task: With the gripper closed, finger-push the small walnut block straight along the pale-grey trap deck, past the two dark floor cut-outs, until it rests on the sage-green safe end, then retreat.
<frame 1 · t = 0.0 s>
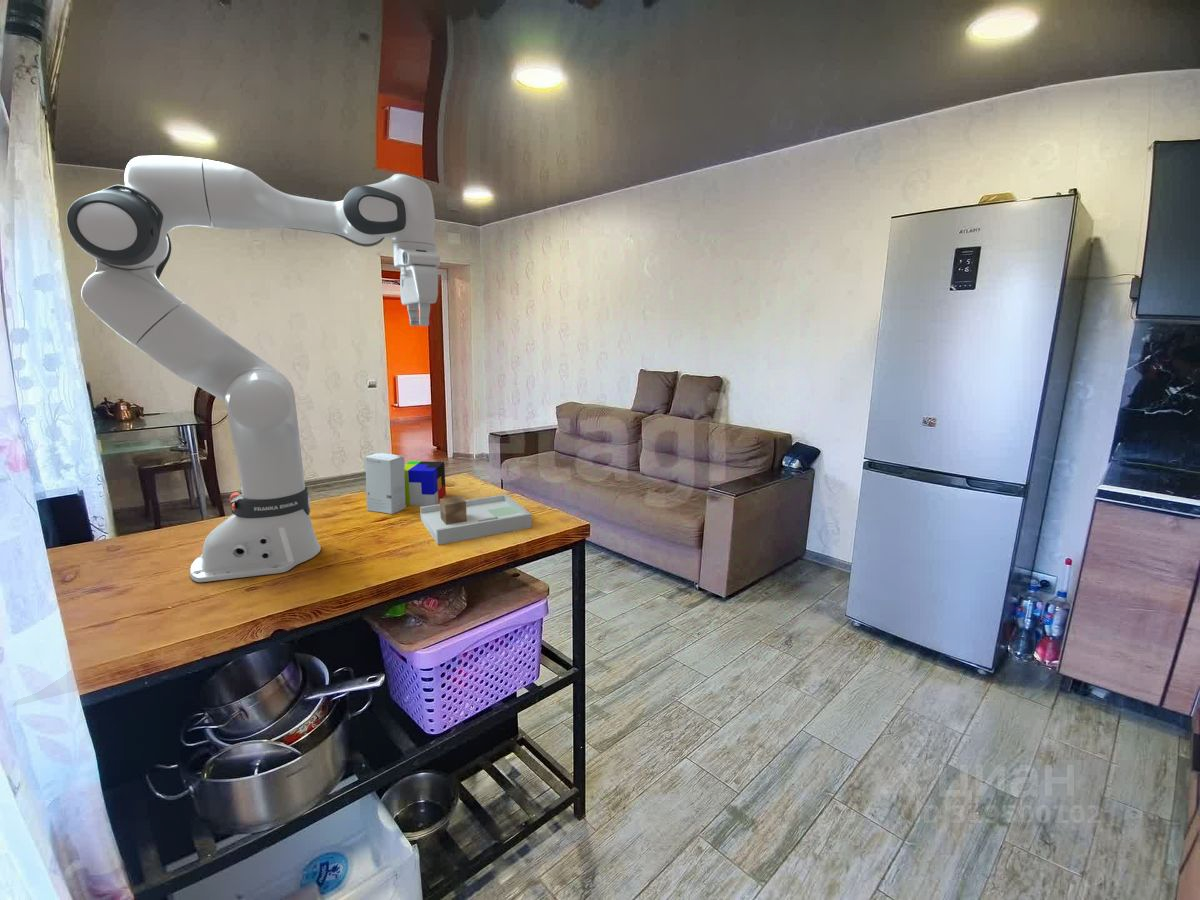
hand: (419, 326, 114), 48 cm above the table, fingers open, 8 cm apart
skincare box: (387, 510, 138), on the table
walnut block: (453, 519, 126), point 2 cm above the table, touching trap deck
trap deck: (474, 523, 129), on the table
puzzle toy: (422, 500, 146), on the table
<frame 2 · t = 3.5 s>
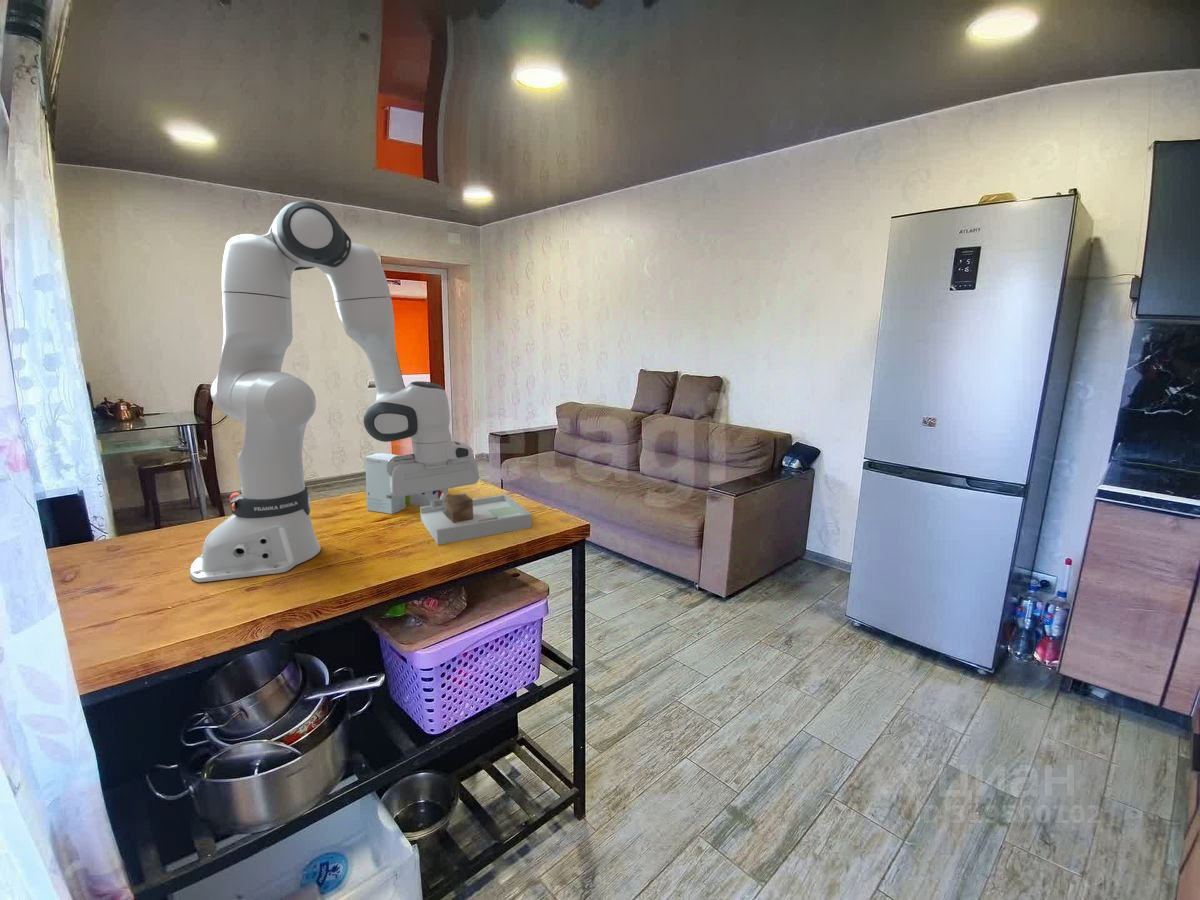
hand: (437, 506, 124), 6 cm above the table, fingers closed
walnut block: (459, 517, 127), point 2 cm above the table
everything else where it was.
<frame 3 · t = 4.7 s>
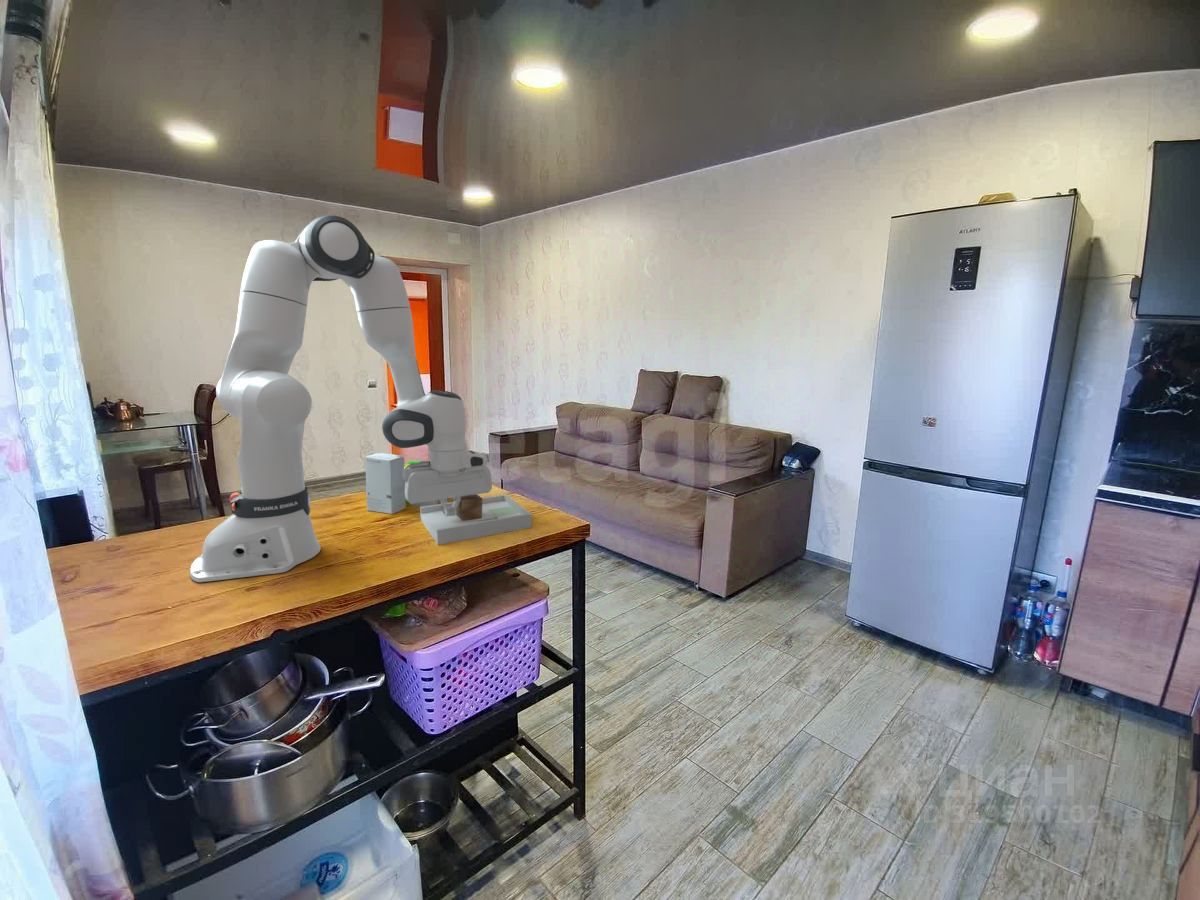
hand: (450, 514, 125), 3 cm above the table, fingers closed
walnut block: (468, 516, 128), point 2 cm above the table, touching gripper, trap deck
everything else where it was.
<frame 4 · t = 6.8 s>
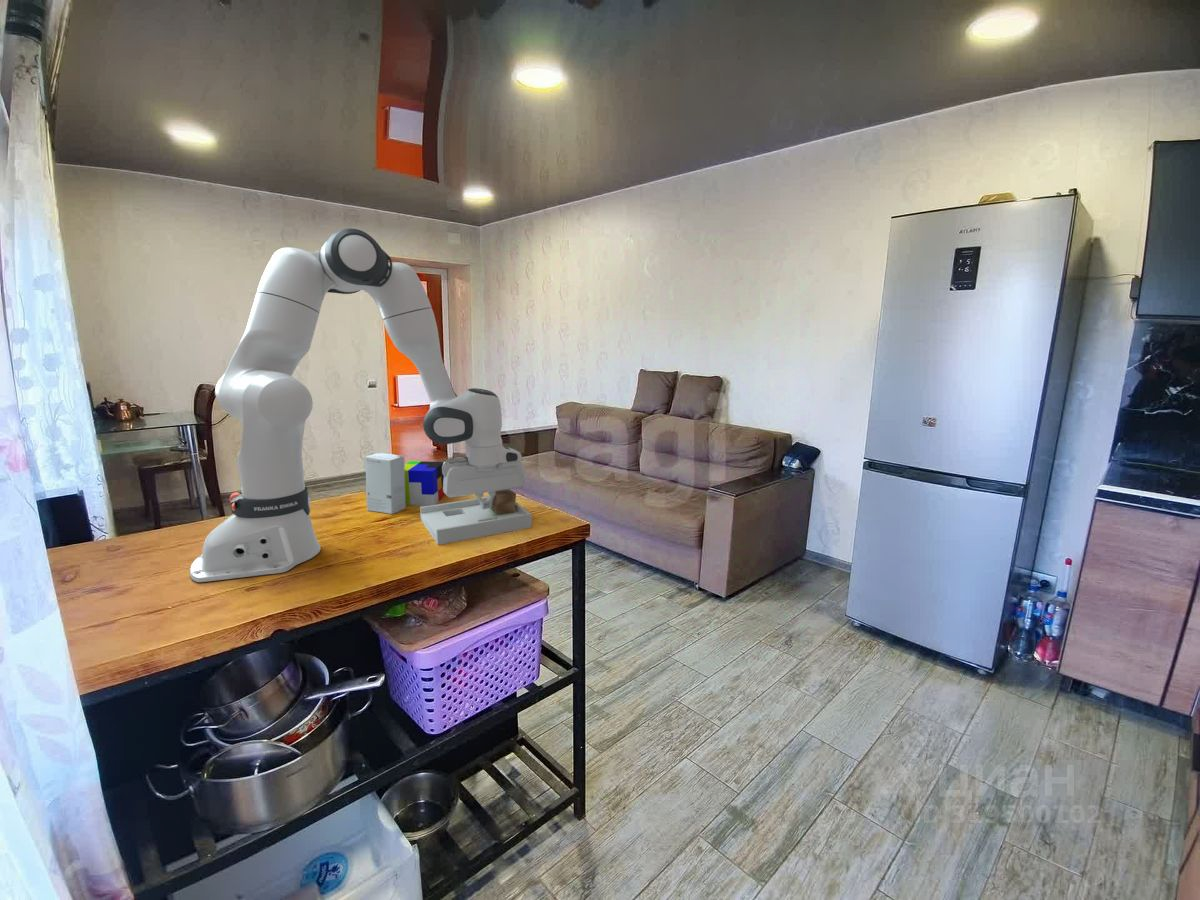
hand: (486, 508, 130), 4 cm above the table, fingers closed, pressing on walnut block
walnut block: (501, 510, 132), point 2 cm above the table, tilted 6°, touching gripper, trap deck
everything else where it was.
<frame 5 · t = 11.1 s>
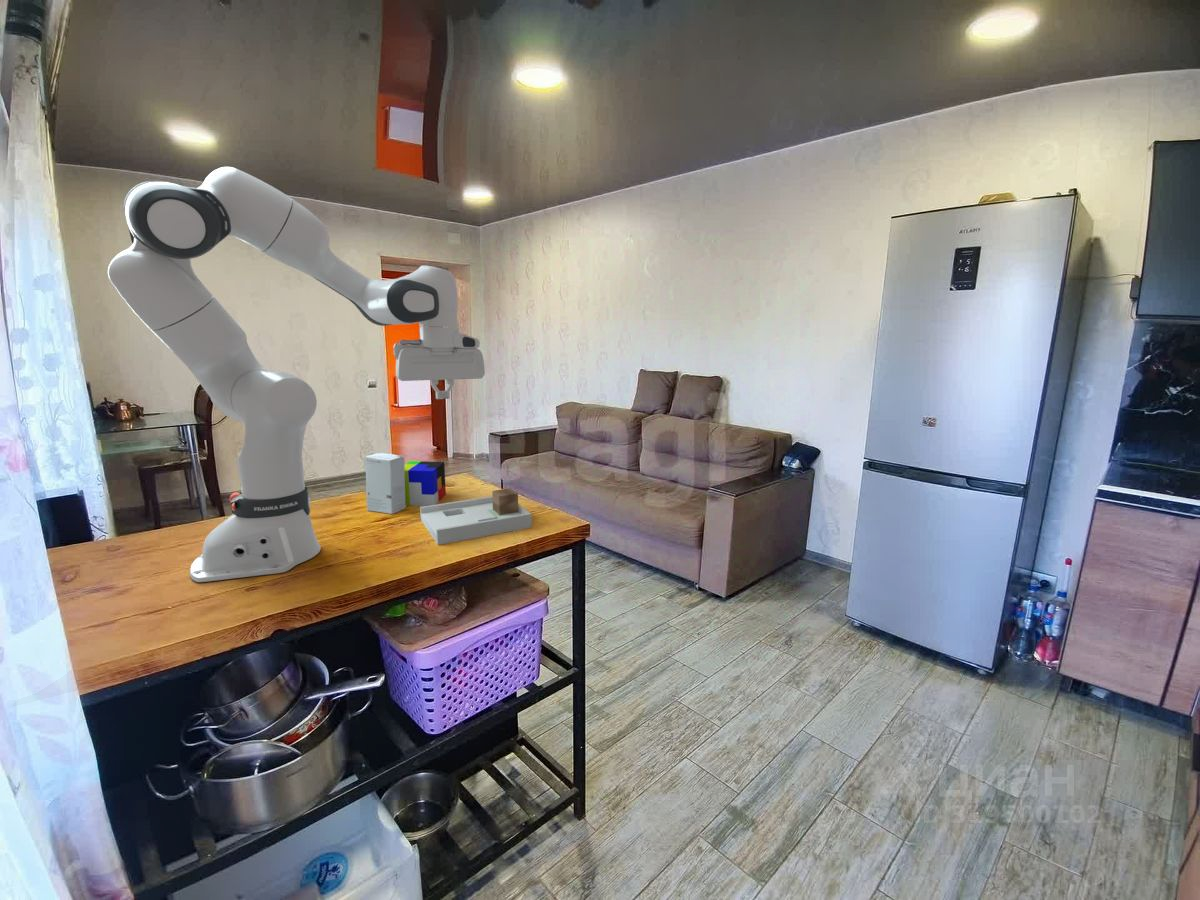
hand: (442, 398, 123), 31 cm above the table, fingers closed
walnut block: (505, 510, 133), point 2 cm above the table, touching trap deck
everything else where it was.
at the end: walnut block 1.3 cm from the target spot, point 2.0 cm above the table; walnut block tilted 0° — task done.
